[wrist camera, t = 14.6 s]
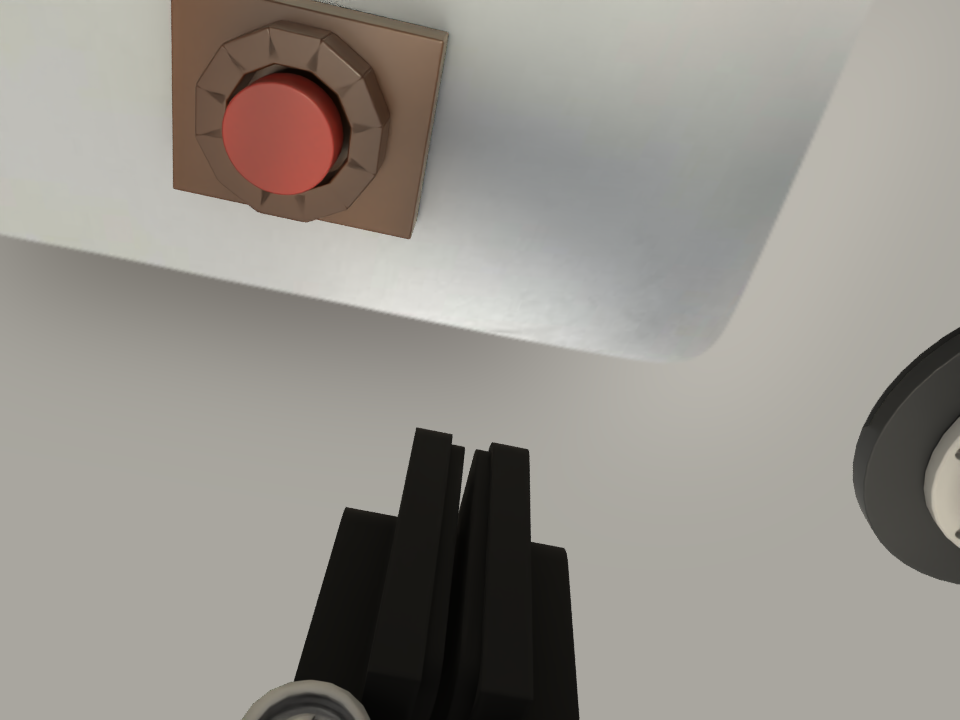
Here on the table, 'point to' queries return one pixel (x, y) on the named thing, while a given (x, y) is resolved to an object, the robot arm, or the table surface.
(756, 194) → the table surface
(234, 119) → the red push button
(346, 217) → the button housing
